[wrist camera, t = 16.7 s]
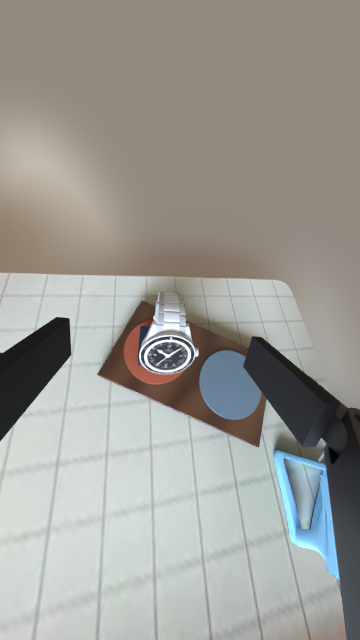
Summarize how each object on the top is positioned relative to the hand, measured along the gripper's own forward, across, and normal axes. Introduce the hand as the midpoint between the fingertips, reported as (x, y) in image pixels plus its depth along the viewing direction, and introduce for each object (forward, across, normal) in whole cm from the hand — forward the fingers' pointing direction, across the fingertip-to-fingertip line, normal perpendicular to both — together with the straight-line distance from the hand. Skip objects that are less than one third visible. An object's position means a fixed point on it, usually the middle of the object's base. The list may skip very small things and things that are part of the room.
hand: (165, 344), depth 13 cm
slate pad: (+8, +10, -9) cm, 16 cm away
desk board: (+10, +5, -9) cm, 14 cm away
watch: (+10, 0, -6) cm, 12 cm away
